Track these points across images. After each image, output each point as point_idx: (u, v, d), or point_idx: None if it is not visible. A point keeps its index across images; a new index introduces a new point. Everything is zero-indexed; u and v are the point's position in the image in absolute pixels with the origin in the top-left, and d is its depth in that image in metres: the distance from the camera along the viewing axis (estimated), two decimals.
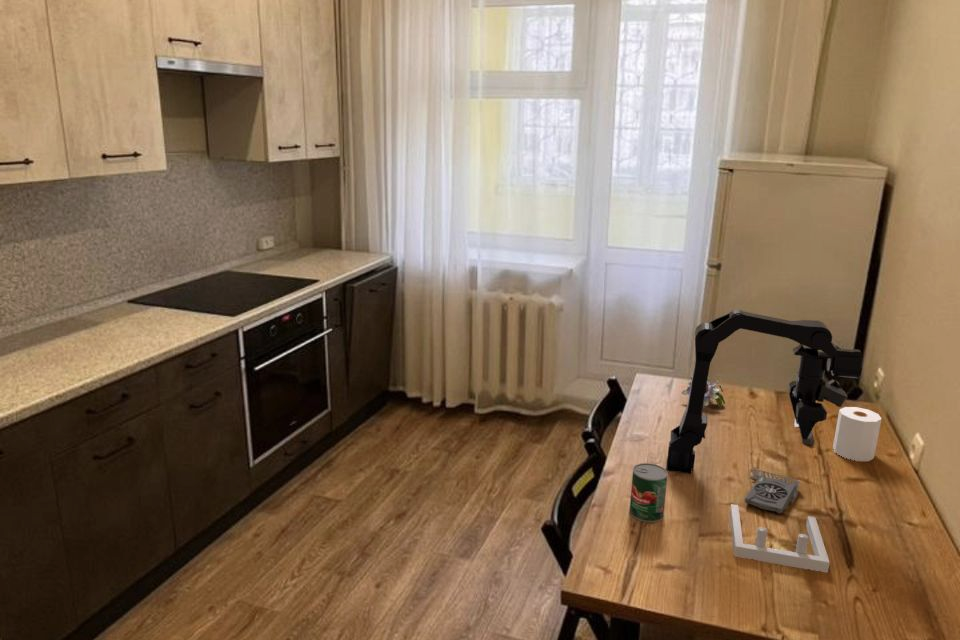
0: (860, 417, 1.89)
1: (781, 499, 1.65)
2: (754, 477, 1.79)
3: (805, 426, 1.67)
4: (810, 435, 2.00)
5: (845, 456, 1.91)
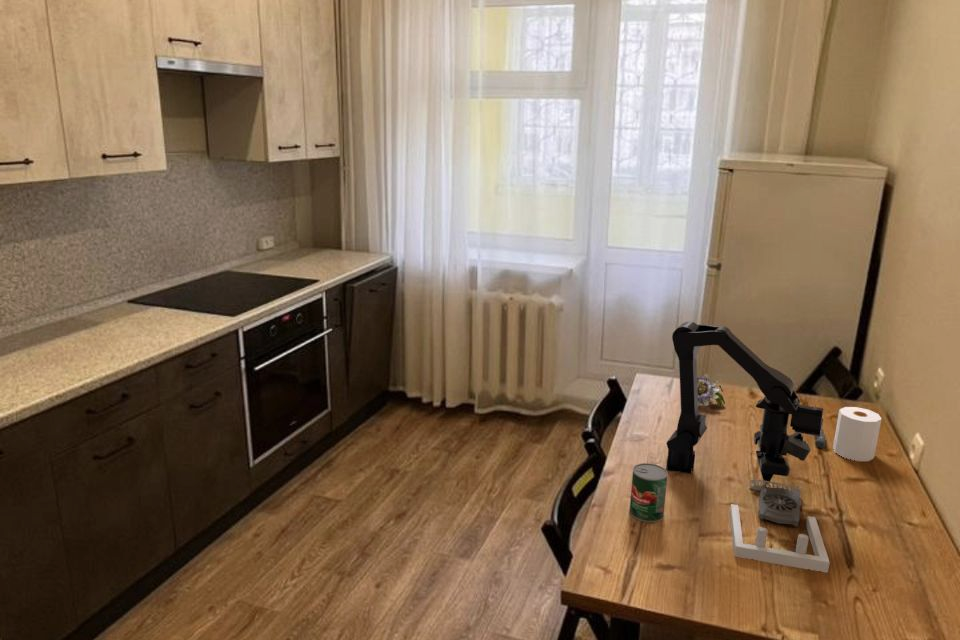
0: (860, 417, 1.89)
1: (793, 510, 1.60)
2: (754, 487, 1.74)
3: None
4: (823, 438, 1.98)
5: (845, 456, 1.91)
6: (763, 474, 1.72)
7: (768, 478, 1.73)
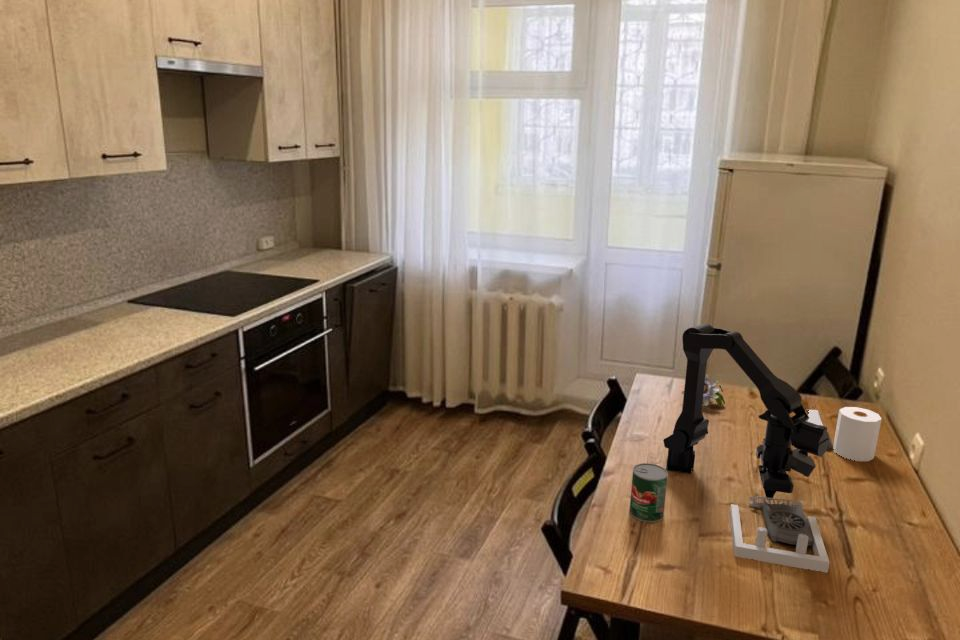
0: (860, 417, 1.89)
1: (804, 529, 1.53)
2: (754, 505, 1.66)
3: None
4: None
5: (845, 456, 1.91)
6: (766, 490, 1.65)
7: (771, 494, 1.65)
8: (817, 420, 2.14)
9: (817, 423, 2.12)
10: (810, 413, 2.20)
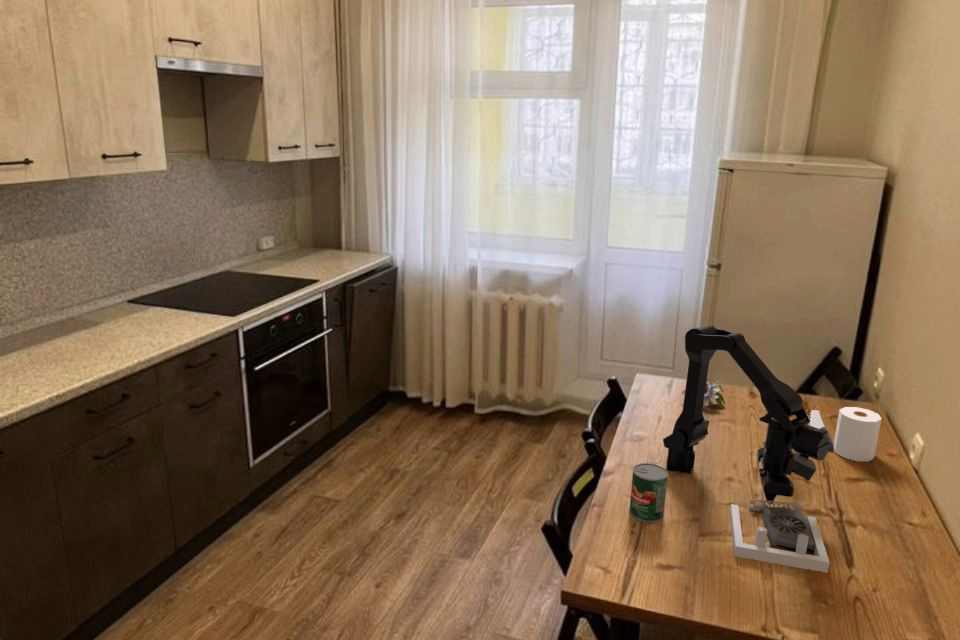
0: (860, 417, 1.89)
1: (805, 532, 1.52)
2: (754, 508, 1.65)
3: None
4: (829, 439, 1.98)
5: (845, 456, 1.91)
6: (766, 494, 1.64)
7: (771, 498, 1.64)
8: (818, 420, 2.14)
9: (818, 423, 2.12)
10: (811, 413, 2.20)
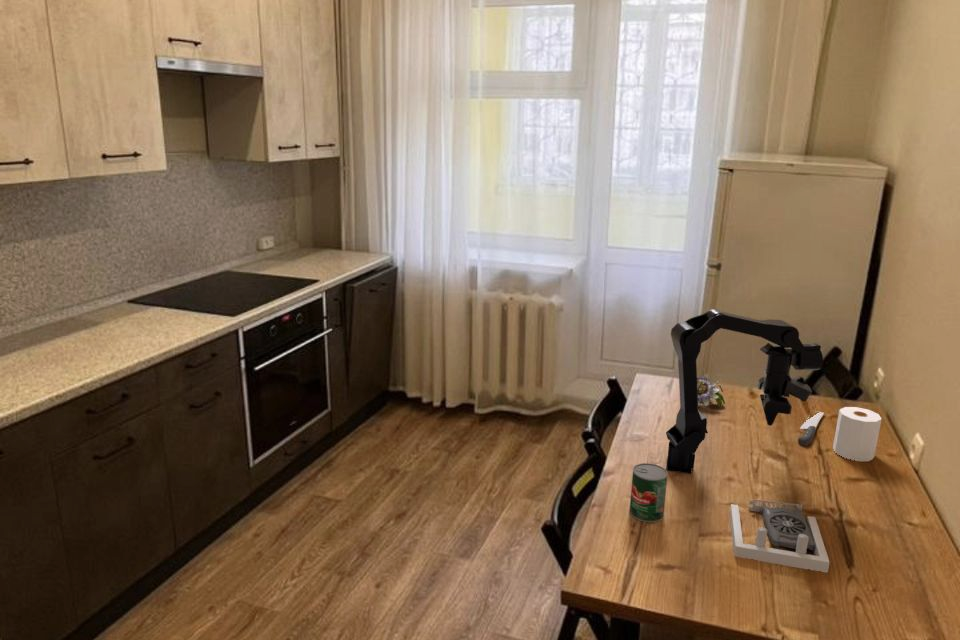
0: (860, 417, 1.89)
1: (805, 532, 1.52)
2: (753, 509, 1.64)
3: (770, 413, 1.81)
4: (807, 436, 1.99)
5: (845, 456, 1.91)
6: (766, 415, 1.81)
7: (771, 419, 1.82)
8: (815, 421, 2.13)
9: (812, 423, 2.12)
10: None
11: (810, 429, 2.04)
